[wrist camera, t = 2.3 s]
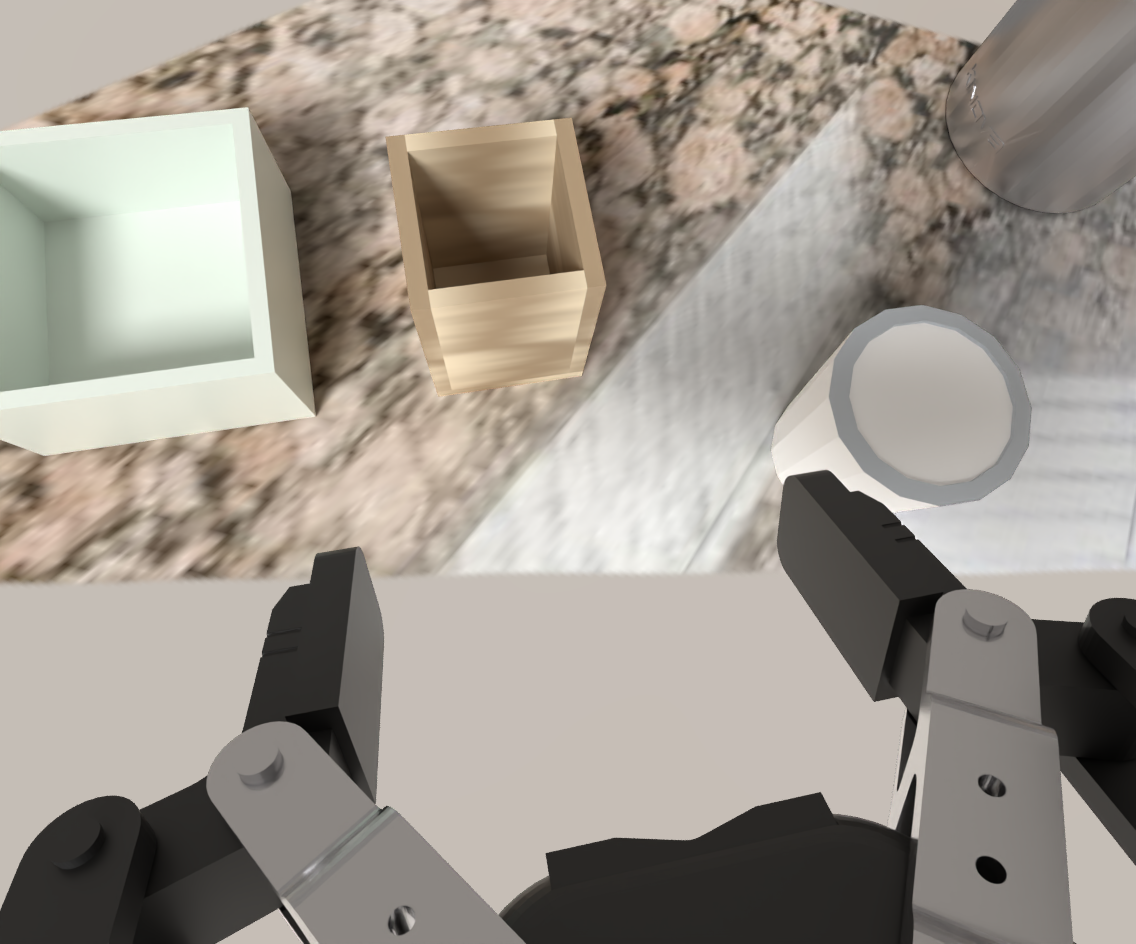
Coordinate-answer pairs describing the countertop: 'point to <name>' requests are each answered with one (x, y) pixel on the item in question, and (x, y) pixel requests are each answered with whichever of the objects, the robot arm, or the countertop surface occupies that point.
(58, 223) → the sage crate
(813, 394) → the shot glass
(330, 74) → the countertop surface
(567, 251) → the birch crate
